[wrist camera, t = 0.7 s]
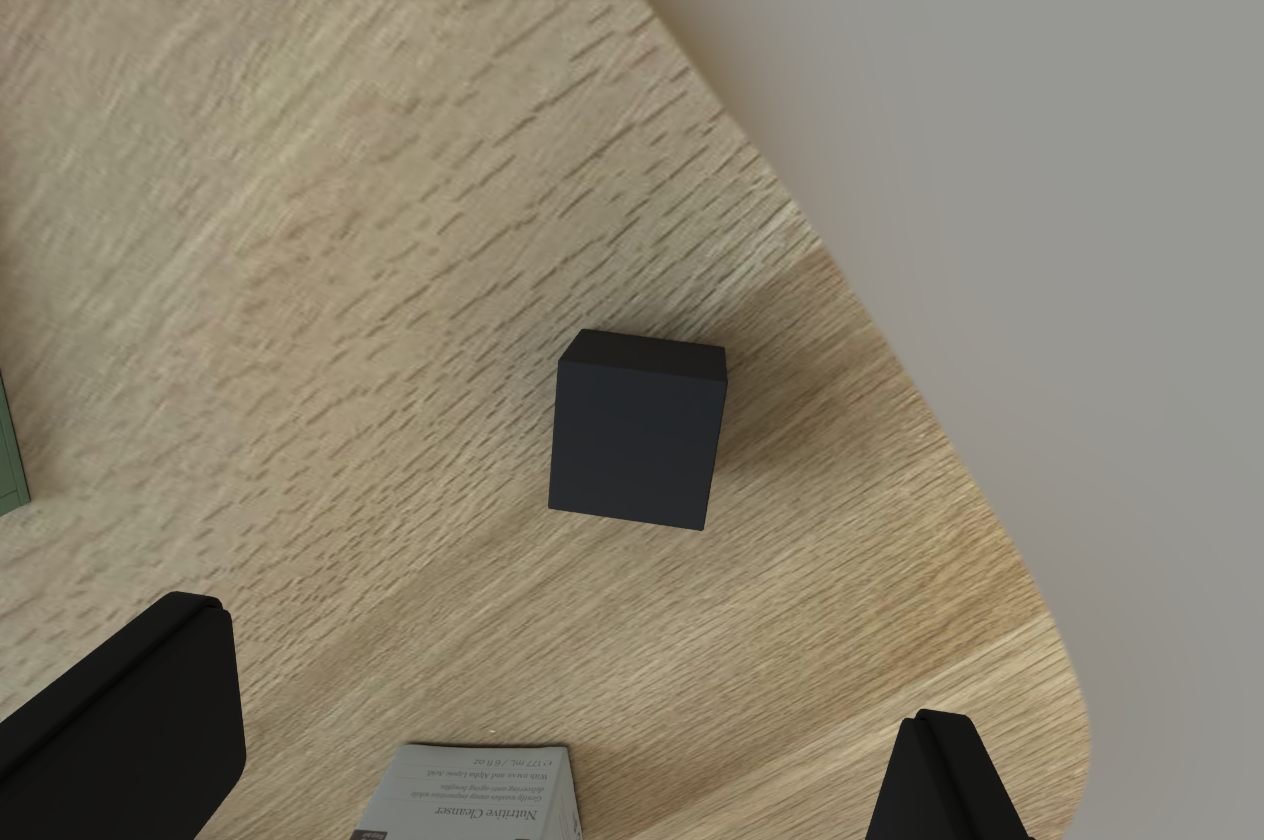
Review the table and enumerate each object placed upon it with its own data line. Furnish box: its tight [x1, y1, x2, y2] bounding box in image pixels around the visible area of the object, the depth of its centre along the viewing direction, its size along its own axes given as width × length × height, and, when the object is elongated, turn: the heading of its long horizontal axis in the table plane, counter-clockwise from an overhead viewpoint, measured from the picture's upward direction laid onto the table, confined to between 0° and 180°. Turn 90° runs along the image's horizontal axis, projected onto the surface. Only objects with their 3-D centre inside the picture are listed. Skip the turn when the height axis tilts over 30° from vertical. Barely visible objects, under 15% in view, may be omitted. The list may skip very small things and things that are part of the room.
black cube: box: [548, 329, 728, 531], centre depth 23 cm, size 5×5×4 cm
